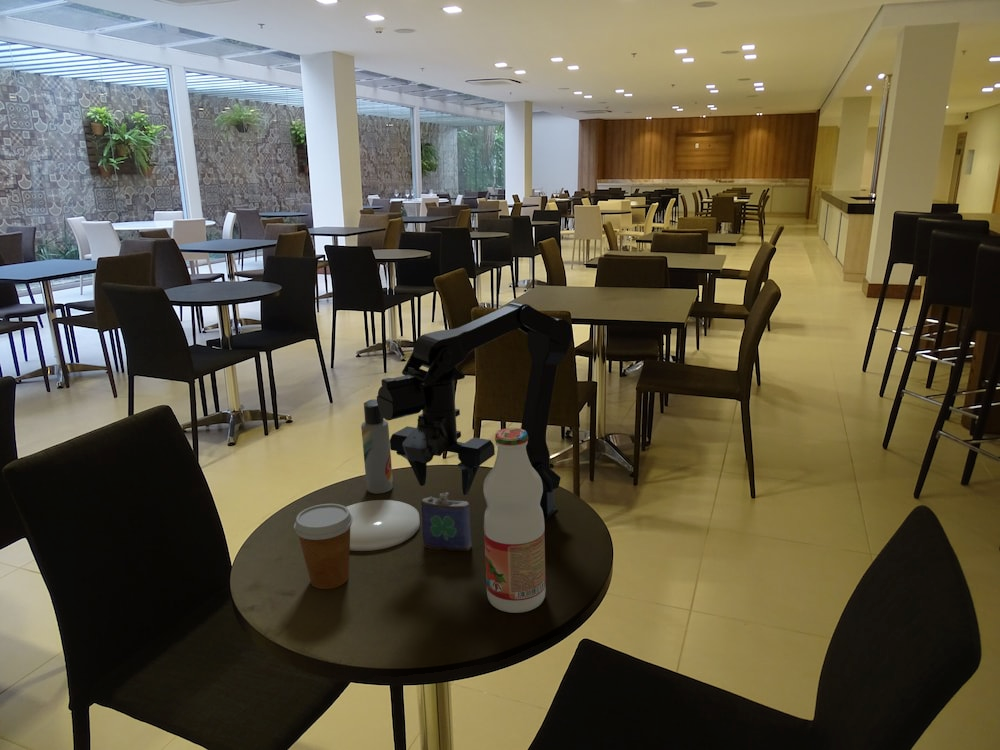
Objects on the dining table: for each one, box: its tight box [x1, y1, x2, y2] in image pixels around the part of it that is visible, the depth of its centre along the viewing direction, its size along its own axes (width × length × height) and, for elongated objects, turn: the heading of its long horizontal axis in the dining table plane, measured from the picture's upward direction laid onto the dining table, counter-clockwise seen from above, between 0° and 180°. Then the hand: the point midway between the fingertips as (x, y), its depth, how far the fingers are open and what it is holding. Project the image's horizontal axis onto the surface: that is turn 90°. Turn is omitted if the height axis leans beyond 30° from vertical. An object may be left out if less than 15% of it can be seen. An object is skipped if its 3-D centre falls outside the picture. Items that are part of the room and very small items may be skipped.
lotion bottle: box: [360, 398, 394, 495], centre depth 153 cm, size 6×6×20 cm
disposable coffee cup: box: [293, 503, 353, 590], centre depth 120 cm, size 10×10×12 cm
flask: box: [420, 491, 472, 552], centre depth 129 cm, size 9×3×11 cm, turn 74°
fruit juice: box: [482, 427, 547, 614], centre depth 111 cm, size 9×9×28 cm
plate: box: [346, 499, 421, 552], centre depth 139 cm, size 18×18×2 cm
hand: (443, 489), depth 128 cm, fingers open, 9 cm apart
